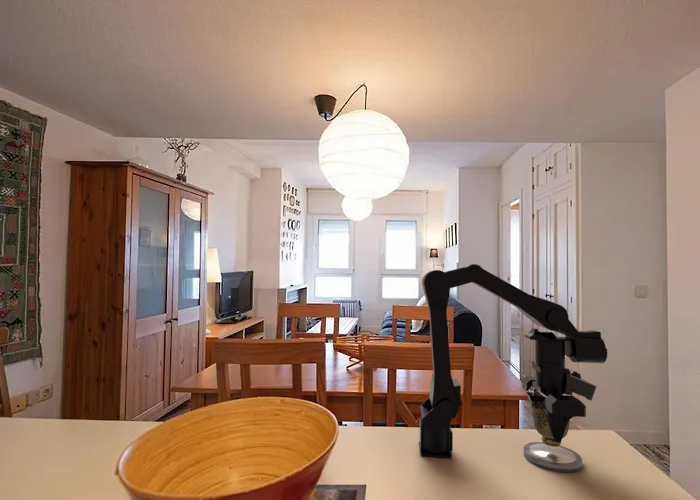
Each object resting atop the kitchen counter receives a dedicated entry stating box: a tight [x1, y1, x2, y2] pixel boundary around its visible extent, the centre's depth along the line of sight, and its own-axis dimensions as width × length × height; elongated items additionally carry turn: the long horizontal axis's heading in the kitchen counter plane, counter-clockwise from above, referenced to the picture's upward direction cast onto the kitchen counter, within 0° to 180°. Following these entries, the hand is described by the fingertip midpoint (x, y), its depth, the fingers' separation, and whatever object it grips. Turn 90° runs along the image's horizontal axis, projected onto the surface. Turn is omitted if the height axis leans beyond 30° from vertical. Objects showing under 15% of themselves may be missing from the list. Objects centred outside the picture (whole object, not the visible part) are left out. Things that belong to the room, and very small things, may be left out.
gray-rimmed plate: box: [523, 441, 583, 474], centre depth 81 cm, size 11×11×1 cm
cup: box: [530, 401, 571, 447], centre depth 81 cm, size 8×7×8 cm
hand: (551, 435), depth 81 cm, fingers closed on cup, 6 cm apart
